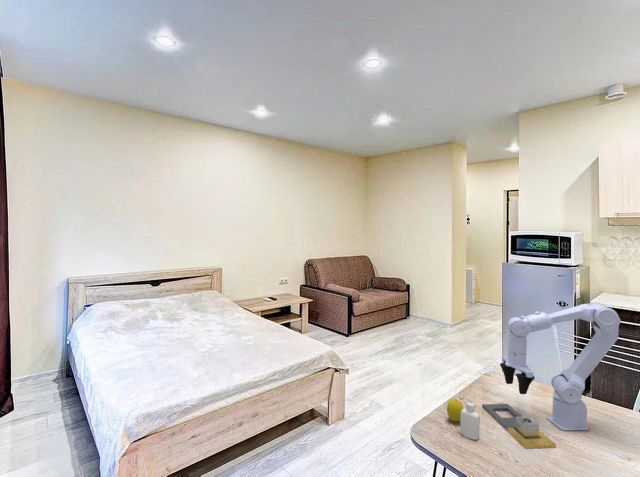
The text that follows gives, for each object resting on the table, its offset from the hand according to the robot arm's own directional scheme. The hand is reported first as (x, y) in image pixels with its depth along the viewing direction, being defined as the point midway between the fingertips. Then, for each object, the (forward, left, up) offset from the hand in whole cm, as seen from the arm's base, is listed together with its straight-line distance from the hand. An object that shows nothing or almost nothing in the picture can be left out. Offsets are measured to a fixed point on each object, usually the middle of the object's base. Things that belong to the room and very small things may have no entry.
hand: (515, 388), depth 121 cm
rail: (+4, +6, -10) cm, 12 cm away
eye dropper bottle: (+23, +11, -10) cm, 27 cm away
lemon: (+24, +3, -10) cm, 26 cm away
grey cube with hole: (+4, +12, -10) cm, 16 cm away
